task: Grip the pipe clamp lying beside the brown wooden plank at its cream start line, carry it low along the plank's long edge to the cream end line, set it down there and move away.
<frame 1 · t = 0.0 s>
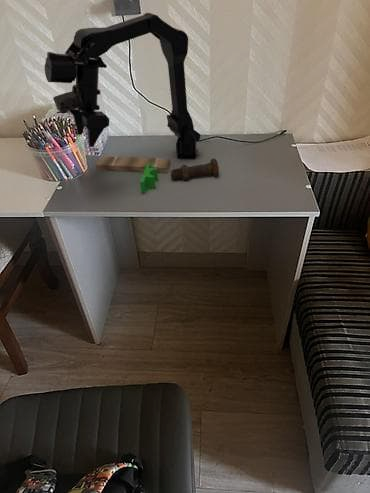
hand: (85, 140, 109), 15 cm above the table, tool pointing down, fingers open, 9 cm apart
bolt: (194, 177, 122), on the table
pipe clamp: (150, 185, 119), on the table
brown wooden plank: (133, 167, 127), on the table
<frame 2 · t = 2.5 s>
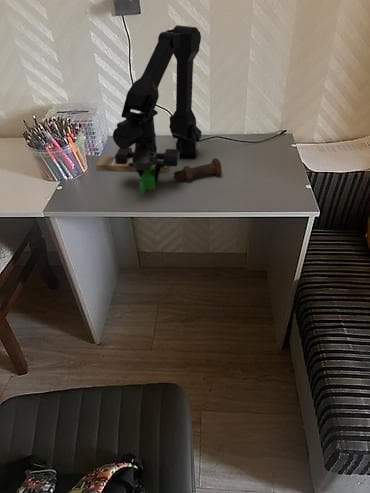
hand: (150, 181, 118), 1 cm above the table, tool pointing down, fingers closed on pipe clamp, 4 cm apart
pipe clamp: (150, 185, 119), on the table, touching gripper
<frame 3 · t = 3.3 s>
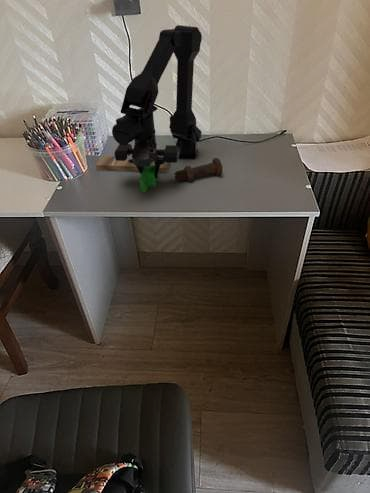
hand: (150, 177, 117), 2 cm above the table, tool pointing down, fingers closed on pipe clamp, 4 cm apart
pipe clamp: (151, 182, 118), point 1 cm above the table, touching gripper
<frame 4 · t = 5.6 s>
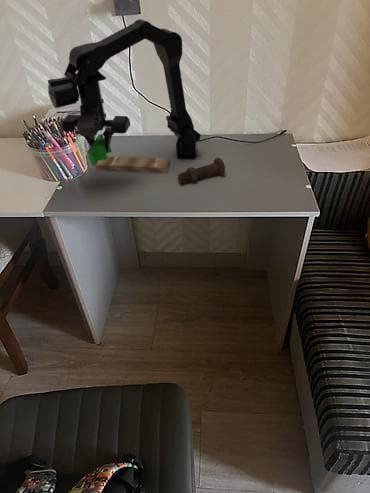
hand: (101, 151, 113), 11 cm above the table, tool pointing down, fingers closed on pipe clamp, 4 cm apart
pipe clamp: (103, 156, 114), point 9 cm above the table, touching gripper
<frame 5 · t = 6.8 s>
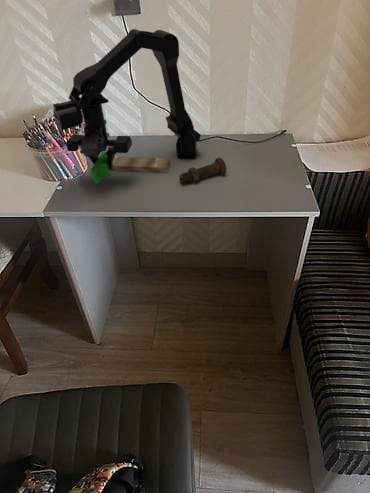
hand: (104, 168, 117), 5 cm above the table, tool pointing down, fingers closed on pipe clamp, 4 cm apart
pipe clamp: (106, 173, 118), point 3 cm above the table, touching gripper
when the fingers open (2 cm above the table, at t = 8.0 s): pipe clamp stays where it is, on the table.
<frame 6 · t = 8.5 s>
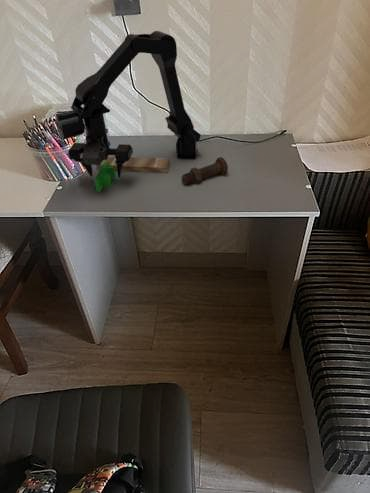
hand: (105, 176, 119), 2 cm above the table, tool pointing down, fingers open, 9 cm apart
pipe clamp: (107, 183, 121), on the table
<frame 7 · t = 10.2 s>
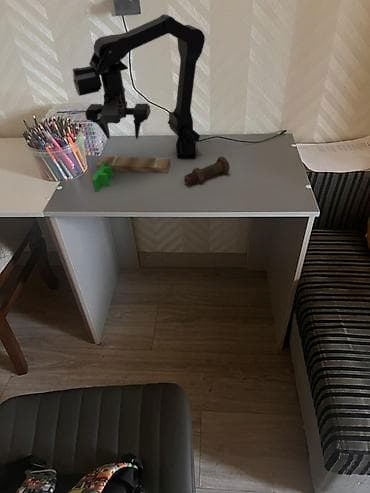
hand: (122, 138, 118), 11 cm above the table, tool pointing down, fingers open, 9 cm apart
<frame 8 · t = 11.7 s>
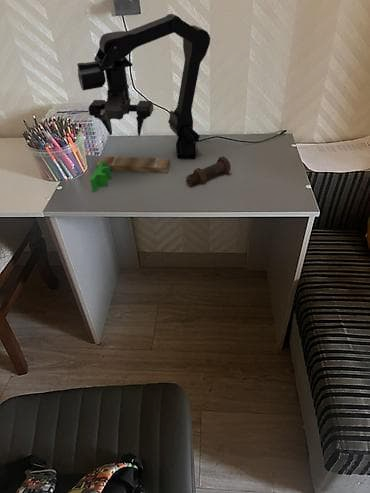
hand: (125, 135, 118), 12 cm above the table, tool pointing down, fingers open, 9 cm apart
at the end: pipe clamp inside the target area (1.1 cm from its centre), on the table; pipe clamp moved 15.6 cm from its start; the gripper is holding nothing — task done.
